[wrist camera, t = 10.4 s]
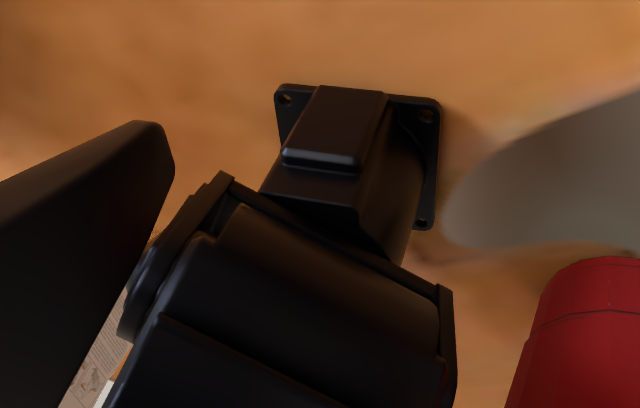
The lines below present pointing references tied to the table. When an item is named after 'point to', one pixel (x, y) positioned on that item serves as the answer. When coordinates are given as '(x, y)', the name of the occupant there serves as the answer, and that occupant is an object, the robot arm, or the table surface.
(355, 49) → the table surface
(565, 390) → the plastic cup
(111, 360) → the ink cartridge box
